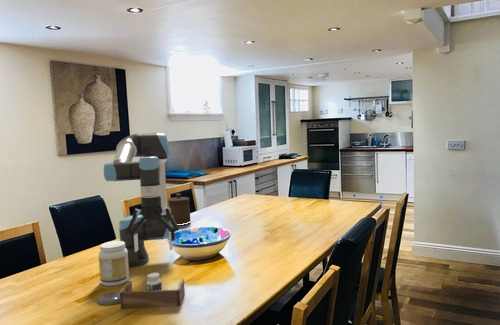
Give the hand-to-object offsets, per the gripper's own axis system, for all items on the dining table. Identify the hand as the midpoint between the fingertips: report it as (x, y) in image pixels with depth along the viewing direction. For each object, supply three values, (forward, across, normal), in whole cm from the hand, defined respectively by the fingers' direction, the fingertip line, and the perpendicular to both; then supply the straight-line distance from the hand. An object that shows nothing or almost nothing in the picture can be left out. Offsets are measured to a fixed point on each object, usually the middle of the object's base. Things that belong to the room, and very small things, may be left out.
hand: (153, 249), depth 156 cm
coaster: (+19, -17, 0) cm, 26 cm away
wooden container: (+15, -10, +126) cm, 127 cm away
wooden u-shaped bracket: (+19, 0, -3) cm, 19 cm away
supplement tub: (+18, -22, +19) cm, 35 cm away
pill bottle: (+19, 0, -2) cm, 19 cm away
